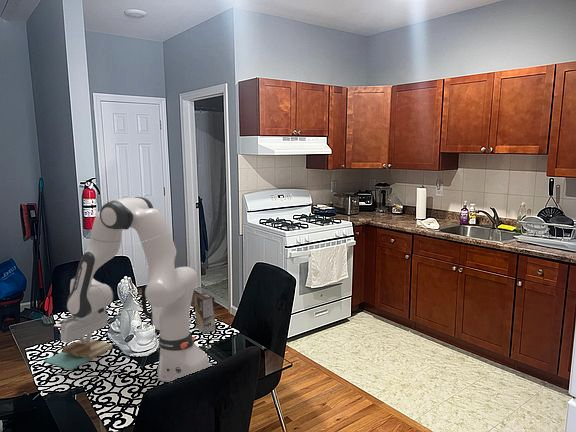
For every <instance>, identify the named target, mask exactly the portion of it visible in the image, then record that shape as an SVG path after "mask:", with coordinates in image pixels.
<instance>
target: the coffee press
mask: <svg viewBox="0 0 576 432" xmlns="http://www.w3.org/2000/svg"><path fill="white" fill-rule="evenodd" d="M146 287H147V284H146V285H144V286H143V287H142V289H141V306H142V312H143V313H144V315H145V316H147V317H148V318H151V326H153V325H154V326H155V328H156V329H155V330H157V331H160V325H159V316H160V313H161V311H162V309H163V307H160V308H157V307H153V306H152V305H150V312H149V310H148V308H147V299H146V297H145V289H146Z"/></svg>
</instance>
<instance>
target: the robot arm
mask: <svg viewBox="0 0 576 432" xmlns="http://www.w3.org/2000/svg"><path fill="white" fill-rule="evenodd" d="M130 228H133V229H134V230H135V231H136V233H137V234H138V238H139V240H140V244H141V246H142V247H141V248H143V249H142V250H143V252H144V255H145V258H146V262H147V271H148V272H147V273H148V280H147V284H146V285H147V287H146V289H145V297H146V302H147V303H148V305H150V306H151V305H152V306H153V307H157V308H160V307H163V309H162V311H161V313H160V316H159V325H160V330H159V335H158V346H159V349H160V350H159V361H158V365H157V370H156V372H157V375H158V376H157V380H158V381H161V382H168V383H171V382H170V381H173V380H175V379H177V378H180V377H183V376H186V375H189V374H192V373H195V372H197V371H200V370H202V369H205V368H207V367H209V366H212V364H211V363H210V361H209V356H208V354H207V353H206V352H204V350H203V349H201V347H199V346H198V345H197V344H196V343H195V340H196V336H192V333H191V331H190V327H191V326H190V313H191V307H192V306H191V305H192V300H193V296H194V295H193V294H194V291H195V288H196V286H197V284H198V281H199V278H198V274H197V272H196V271H195V269H193V268H192V267H190V266H178V267H176V266H175V261H176V256H177V248H176V245H175V243H174V239H173V237H172V234H171V232H170V228H169V226H168V224H167V221H166V219H165V218H164V216H163V214H162V213H161V211H160V210H159V209H157V208H154V205H153V204H152V202H151V201H150V200H149V199H148V198H146V197H143V196H142V197H141V196H135V197H124V198H119V199H116V200H109V201H108V202H106V203H104V204H103V205H102V206H101V208H100V209H99V211H98V212H97V213H96V215H95V218H94V220H93V223H92V228H91V233H90V239H89V243H88V245H87V248H86V250H85V252H84V253H83V254H82V256H81V258H80V261H79V263H78V267H77V270H76V273H75V276H74V277H73V278H71V279H70V284H69V295H68V297H67V301H66V310H67V311H68V313H69V314H70V315H72V317H71V318H69V319H66V318H65V319H66V320H64V319H63V320H64V322H63V323H62V324H61V327H60V341H61V342H63V343H67V344H69V343H70V342H73V341H76V340H78V339H79V341H80V340H81V343H82V344H85V345H86V344H88V343H90V339H92V336H93V332H96V331H98V330H101V329H102V328H105V327H106V326H107V325H108V313H107V314H106V312H105V311H106V308H107V306H109V305H111V304H112V302H113V300H114V297H115V296H114V291H113V289H112V287H111V286H110V285H108V283H107V284H106V283H102V282H100V281H98V280H96V279H95V278H94V275H95V274H96V272H97V271H98V269H99V268H101V267H102V266H103V265H105V263H107V262H108V261H109V262H110V260H112V259H113V258H114V257H115V256H117V254H118V253H119V250H120V247H121V244H122V243H121V242H122V235H123V230H125V231H126V230H129V229H130ZM105 306H106V307H105ZM84 338H86V339H85V340H84Z"/></svg>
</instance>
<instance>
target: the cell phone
mask: <svg viewBox="0 0 576 432" xmlns="http://www.w3.org/2000/svg"><path fill="white" fill-rule="evenodd" d="M71 317H72V314H70V315H69V316H67V317H66V318H64V319H63V320H61V321H59V322H57V323H56V324H54V325H53V327H57V328H61V324H62V323H63V322H64V320H66V319H69V318H71Z"/></svg>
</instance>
